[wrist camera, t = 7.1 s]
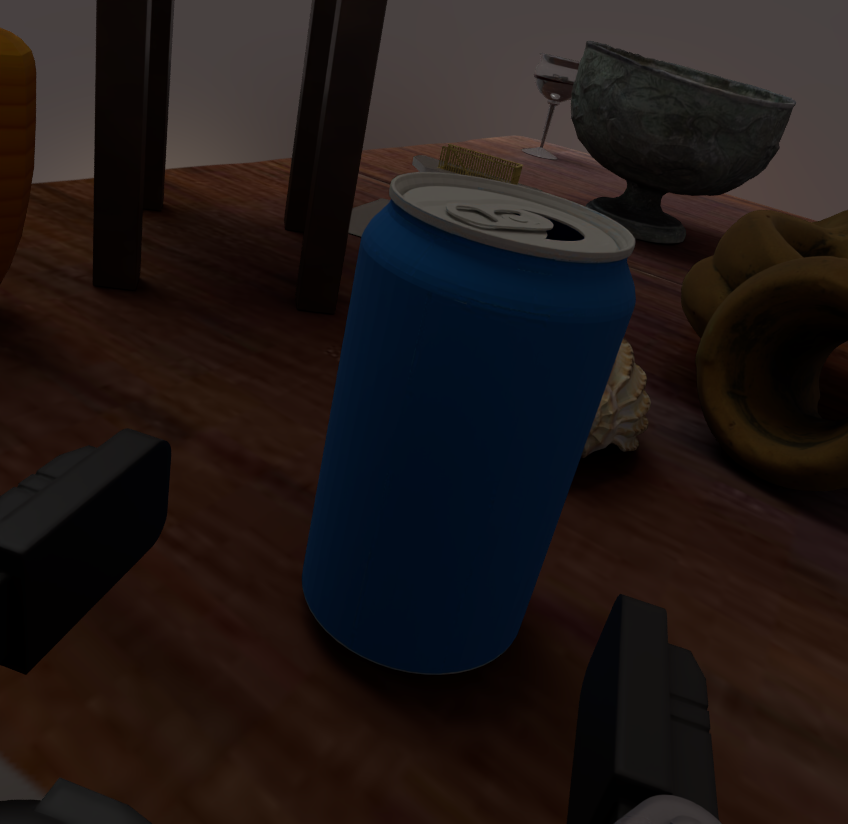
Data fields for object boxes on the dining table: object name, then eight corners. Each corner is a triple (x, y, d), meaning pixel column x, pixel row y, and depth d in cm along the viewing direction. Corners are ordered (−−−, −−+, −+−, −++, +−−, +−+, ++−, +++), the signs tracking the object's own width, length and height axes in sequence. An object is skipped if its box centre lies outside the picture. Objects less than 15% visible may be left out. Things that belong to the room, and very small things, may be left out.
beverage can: (558, 663, 23) (716, 265, 17) (353, 723, 19) (466, 254, 14) (447, 526, 27) (542, 179, 22) (267, 555, 24) (325, 155, 18)
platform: (553, 299, 52) (583, 201, 49) (314, 221, 56) (328, 126, 53) (587, 262, 62) (613, 179, 59) (382, 198, 66) (397, 117, 63)
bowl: (667, 272, 65) (739, 79, 58) (500, 198, 76) (543, 30, 69) (773, 260, 78) (841, 101, 71) (616, 198, 89) (662, 56, 82)
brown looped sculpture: (1122, 339, 42) (1079, 311, 27) (920, 492, 49) (790, 542, 33) (859, 143, 51) (709, 35, 35) (718, 296, 58) (540, 263, 42)
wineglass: (554, 162, 103) (581, 64, 97) (507, 148, 105) (531, 51, 99) (570, 159, 108) (597, 66, 103) (525, 146, 110) (549, 54, 105)
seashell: (440, 437, 39) (529, 467, 29) (451, 314, 38) (544, 304, 29) (581, 444, 41) (705, 475, 31) (592, 328, 41) (721, 324, 31)
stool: (92, 285, 39) (98, -153, 30) (131, 198, 52) (143, -122, 44) (334, 314, 42) (400, -75, 34) (312, 225, 55) (355, -68, 47)
